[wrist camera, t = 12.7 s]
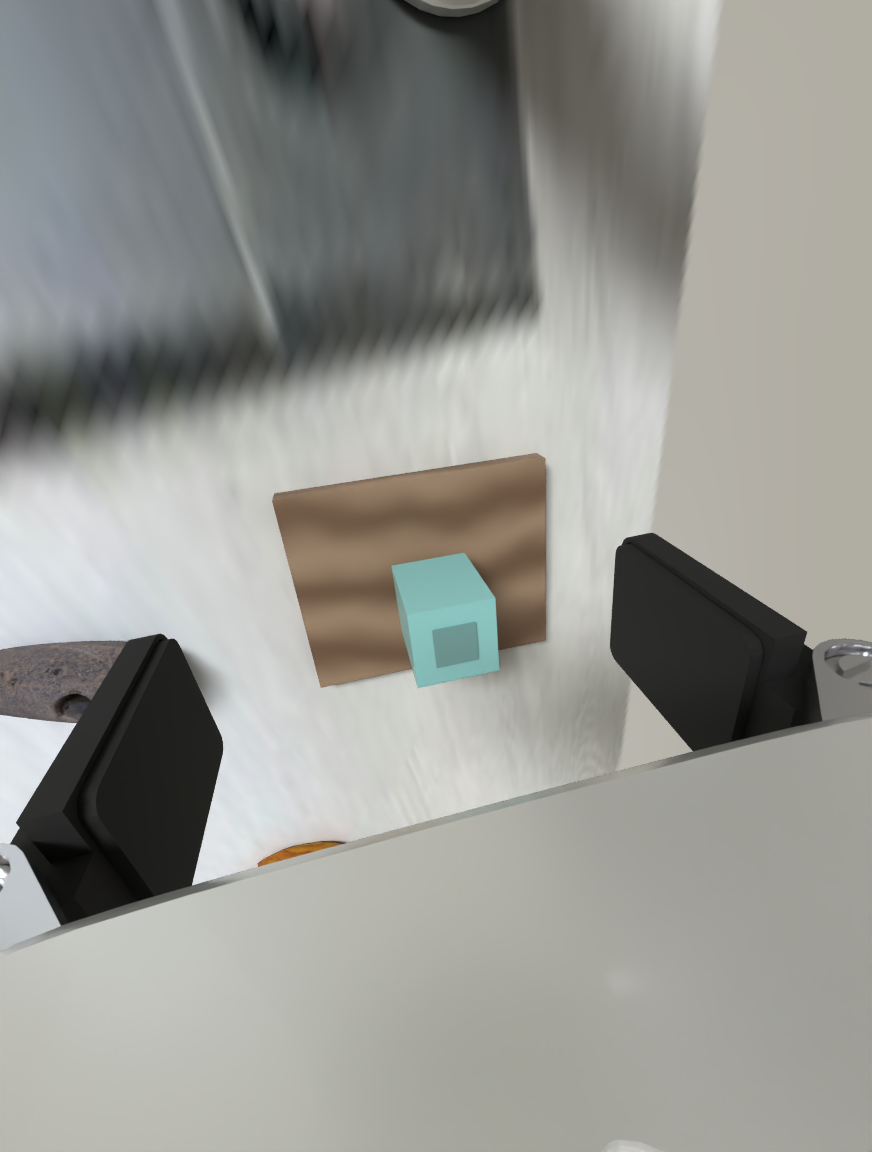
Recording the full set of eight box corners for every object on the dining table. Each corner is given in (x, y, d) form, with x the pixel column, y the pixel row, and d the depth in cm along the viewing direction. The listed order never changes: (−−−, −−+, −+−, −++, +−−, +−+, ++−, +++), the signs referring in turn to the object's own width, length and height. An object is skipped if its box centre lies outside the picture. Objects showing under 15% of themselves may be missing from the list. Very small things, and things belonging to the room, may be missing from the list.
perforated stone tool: (-25, 679, 40) (-87, 739, 34) (-38, 623, 38) (-107, 677, 32) (175, 681, 44) (152, 735, 38) (173, 631, 42) (148, 680, 36)
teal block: (391, 565, 39) (407, 616, 32) (464, 552, 40) (496, 599, 32) (401, 629, 42) (418, 689, 34) (469, 615, 42) (500, 671, 35)
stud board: (274, 493, 39) (258, 543, 29) (536, 453, 42) (600, 486, 32) (320, 674, 47) (320, 761, 37) (537, 629, 50) (589, 698, 40)
